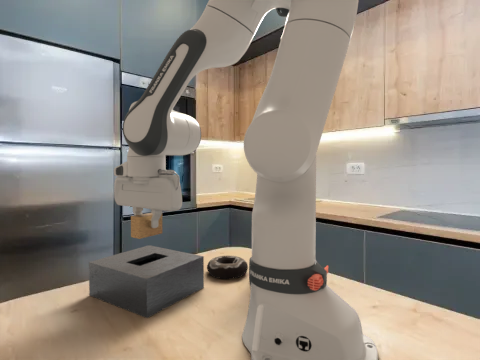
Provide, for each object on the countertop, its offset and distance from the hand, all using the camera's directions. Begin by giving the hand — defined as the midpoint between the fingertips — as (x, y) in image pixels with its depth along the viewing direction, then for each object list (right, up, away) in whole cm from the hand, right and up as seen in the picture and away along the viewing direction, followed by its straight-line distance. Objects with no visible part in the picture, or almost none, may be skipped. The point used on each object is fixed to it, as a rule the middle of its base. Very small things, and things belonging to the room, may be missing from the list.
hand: (147, 226), depth 73 cm
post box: (0, -16, +1) cm, 16 cm away
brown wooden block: (0, -2, 0) cm, 2 cm away
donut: (+19, -16, +14) cm, 28 cm away
